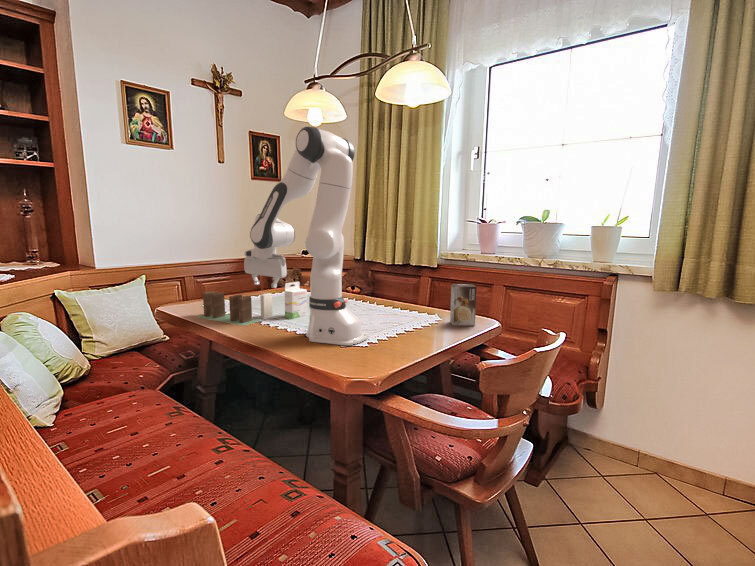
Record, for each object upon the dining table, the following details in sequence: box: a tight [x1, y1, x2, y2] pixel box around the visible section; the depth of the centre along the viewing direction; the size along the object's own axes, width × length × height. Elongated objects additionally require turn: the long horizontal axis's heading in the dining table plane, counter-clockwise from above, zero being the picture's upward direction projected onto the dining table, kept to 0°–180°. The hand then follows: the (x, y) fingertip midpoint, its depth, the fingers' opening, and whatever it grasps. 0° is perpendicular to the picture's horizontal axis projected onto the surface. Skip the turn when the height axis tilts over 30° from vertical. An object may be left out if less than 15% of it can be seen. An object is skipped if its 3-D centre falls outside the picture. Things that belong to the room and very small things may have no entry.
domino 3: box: [228, 294, 243, 321], centre depth 161 cm, size 2×5×10 cm, turn 153°
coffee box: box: [449, 283, 478, 326], centre depth 162 cm, size 9×6×16 cm
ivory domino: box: [260, 292, 274, 319], centre depth 167 cm, size 2×5×10 cm, turn 153°
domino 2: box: [211, 291, 226, 318], centre depth 166 cm, size 2×5×10 cm, turn 153°
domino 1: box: [202, 290, 217, 317], centre depth 168 cm, size 2×5×10 cm, turn 153°
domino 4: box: [239, 295, 253, 323], centre depth 159 cm, size 2×5×10 cm, turn 153°
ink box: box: [284, 281, 308, 320], centre depth 169 cm, size 9×5×15 cm, turn 143°
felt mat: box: [197, 313, 262, 327], centre depth 164 cm, size 27×10×1 cm, turn 63°
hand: (265, 286), depth 166 cm, fingers open, 8 cm apart
